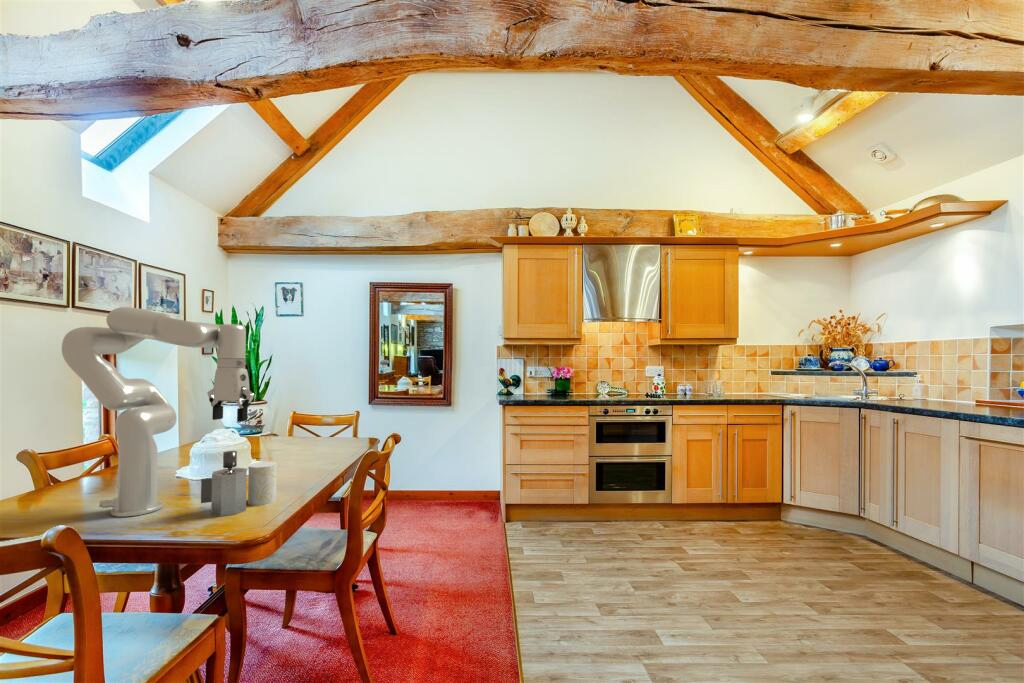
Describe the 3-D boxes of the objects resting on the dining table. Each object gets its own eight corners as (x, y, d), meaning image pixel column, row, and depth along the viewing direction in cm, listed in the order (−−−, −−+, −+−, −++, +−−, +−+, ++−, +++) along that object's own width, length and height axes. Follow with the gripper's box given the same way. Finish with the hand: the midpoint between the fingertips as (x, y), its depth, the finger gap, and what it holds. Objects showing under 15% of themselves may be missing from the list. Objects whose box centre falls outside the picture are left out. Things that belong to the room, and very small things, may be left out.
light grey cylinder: (251, 507, 152) (251, 468, 152) (245, 500, 158) (246, 464, 158) (279, 502, 157) (279, 464, 157) (272, 496, 163) (273, 460, 163)
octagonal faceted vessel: (199, 519, 141) (199, 477, 141) (202, 510, 149) (203, 470, 149) (245, 513, 146) (246, 473, 146) (246, 504, 154) (246, 466, 154)
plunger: (221, 510, 146) (222, 453, 146) (222, 506, 149) (223, 451, 149) (235, 508, 147) (236, 452, 148) (236, 505, 150) (237, 450, 151)
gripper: (263, 364, 150) (261, 420, 149) (220, 363, 155) (219, 417, 155) (243, 365, 143) (241, 423, 142) (198, 364, 148) (197, 420, 148)
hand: (229, 420), depth 148 cm, fingers open, 9 cm apart
